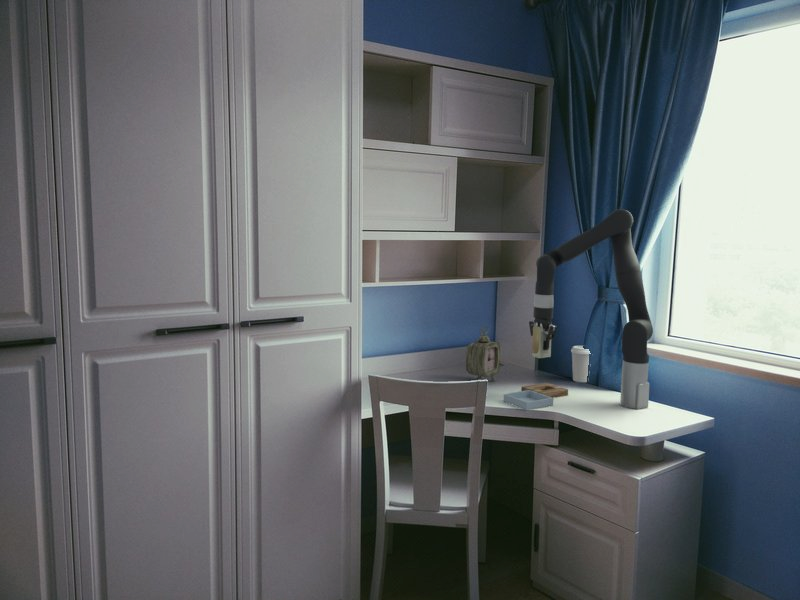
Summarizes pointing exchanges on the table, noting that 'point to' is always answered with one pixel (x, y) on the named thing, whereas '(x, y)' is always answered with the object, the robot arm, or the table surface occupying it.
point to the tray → (528, 400)
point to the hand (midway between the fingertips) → (541, 348)
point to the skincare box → (539, 343)
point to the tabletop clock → (483, 357)
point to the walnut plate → (547, 389)
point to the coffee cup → (580, 363)
